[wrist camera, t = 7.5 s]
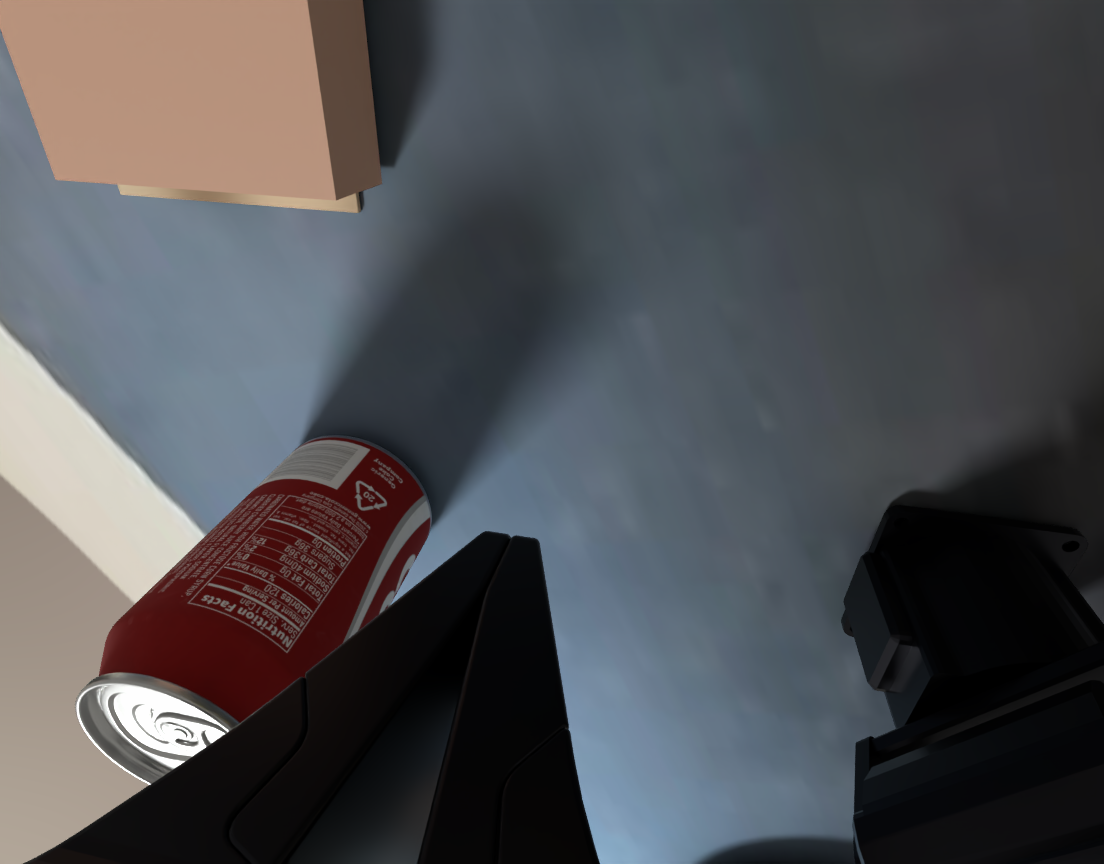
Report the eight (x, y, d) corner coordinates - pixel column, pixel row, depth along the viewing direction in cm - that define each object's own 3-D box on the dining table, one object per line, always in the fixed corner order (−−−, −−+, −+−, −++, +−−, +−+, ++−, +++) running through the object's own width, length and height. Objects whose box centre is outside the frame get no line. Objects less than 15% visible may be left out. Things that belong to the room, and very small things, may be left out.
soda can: (281, 414, 25) (13, 641, 15) (435, 439, 25) (259, 698, 14) (304, 537, 29) (99, 787, 19) (440, 562, 28) (301, 839, 18)
